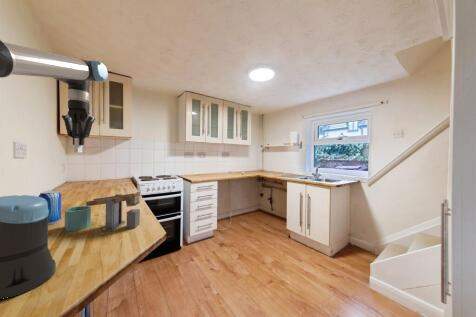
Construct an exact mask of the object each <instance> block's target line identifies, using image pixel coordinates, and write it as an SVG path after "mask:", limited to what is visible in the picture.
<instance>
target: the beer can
mask: <svg viewBox="0 0 476 317" xmlns="http://www.w3.org/2000/svg"><path fill="white" fill-rule="evenodd" d="M38 197H41V198H44V199H45V200H46V201H47V203H48V210H49V217H48V226H51V225H56V224H57V223H60V221H61V220H62V194H61V193H60V191H59V190H46V191H45V190H43V191H41V192H40V194H39V195H38Z"/></svg>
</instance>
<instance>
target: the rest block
mask: <svg viewBox="0 0 476 317" xmlns="http://www.w3.org/2000/svg"><path fill="white" fill-rule="evenodd" d="M140 210H141V209H140V208H138V209H136V208H135V209H134V208H132V209H131V208H130V210H128V211H126V229H136V228H137V227H139V225H140V221H141V220H140V218H141V216H140V215H141V214H140V212H141V211H140ZM135 227H136V228H135Z"/></svg>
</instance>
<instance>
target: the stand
mask: <svg viewBox="0 0 476 317" xmlns="http://www.w3.org/2000/svg"><path fill="white" fill-rule="evenodd" d="M119 195H123V194H119V193H118V194H115V195H114V196H119ZM125 223H126V221H125V220H123V201H122V202H115V203H114V198H106V204H105V223H104V224H105V227H103V228H102V229H101V232H114V231H115V230H116V229H118V228H119V227H121V226H122V225H123V224H125Z"/></svg>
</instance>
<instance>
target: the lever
mask: <svg viewBox="0 0 476 317" xmlns="http://www.w3.org/2000/svg"><path fill="white" fill-rule="evenodd" d="M106 198H114V203H115V202H122V203H123V202H125V203H126V208H128V207H134V206H137V205H139V204H140V198H141V193H140V191H137V192H134V193H126V194H122V195H119V196H115V195H111V196H110V195H109V196H104V197H98V198H93V200H88V201H85V206H90V207H92V206H98V205H106Z"/></svg>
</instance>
